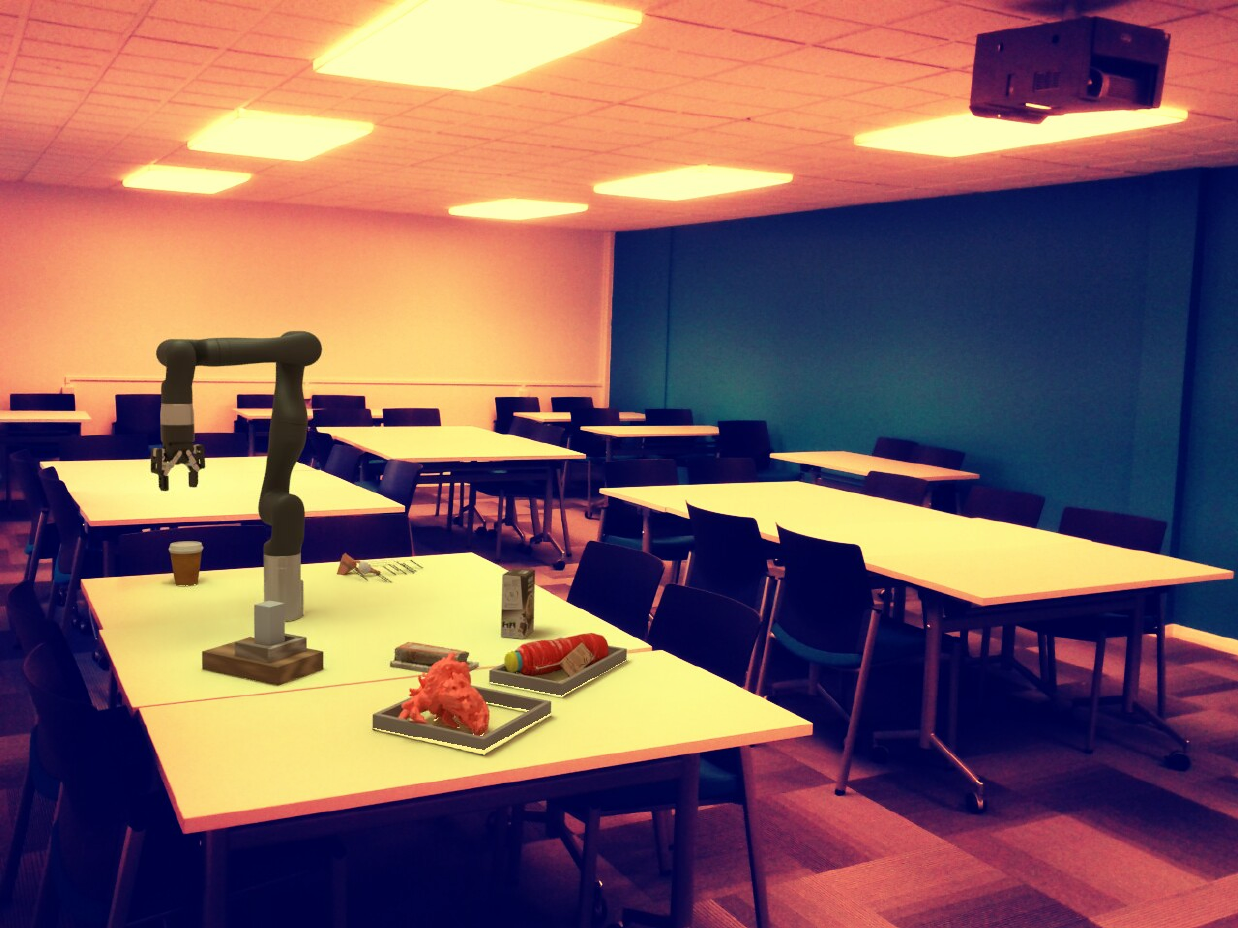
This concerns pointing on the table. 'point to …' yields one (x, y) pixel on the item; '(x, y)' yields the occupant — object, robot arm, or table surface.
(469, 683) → the heart model
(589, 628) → the table surface
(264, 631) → the slate post
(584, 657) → the water bottle
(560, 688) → the bottle corral
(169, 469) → the robot arm
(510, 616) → the coffee box
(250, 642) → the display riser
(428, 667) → the packaged product
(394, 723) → the heart corral
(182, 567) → the disposable coffee cup
